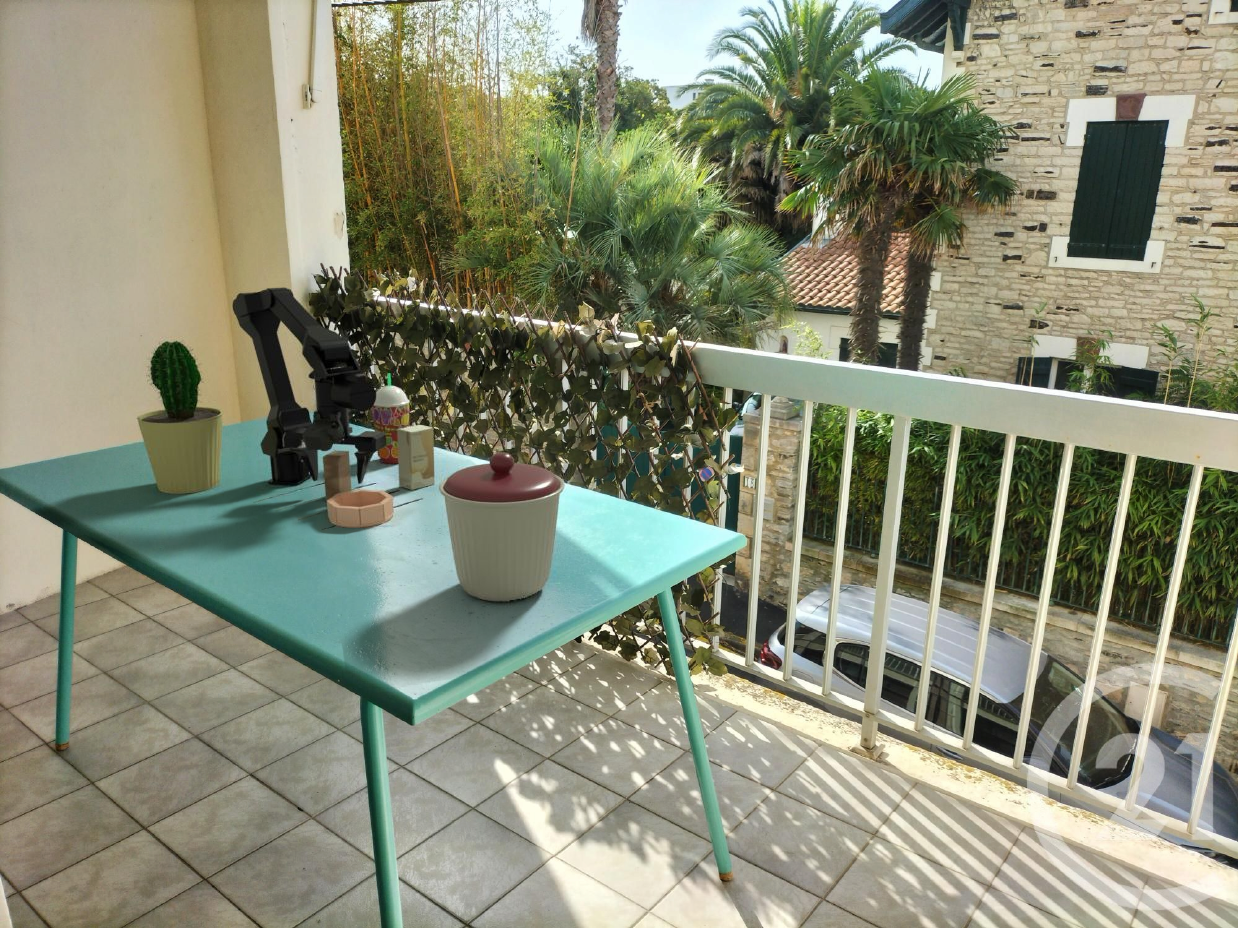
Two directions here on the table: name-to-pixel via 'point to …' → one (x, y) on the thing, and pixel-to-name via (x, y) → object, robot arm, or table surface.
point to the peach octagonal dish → (360, 508)
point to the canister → (502, 526)
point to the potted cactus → (181, 425)
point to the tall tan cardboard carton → (336, 473)
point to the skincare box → (416, 456)
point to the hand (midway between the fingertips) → (337, 482)
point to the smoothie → (390, 418)
